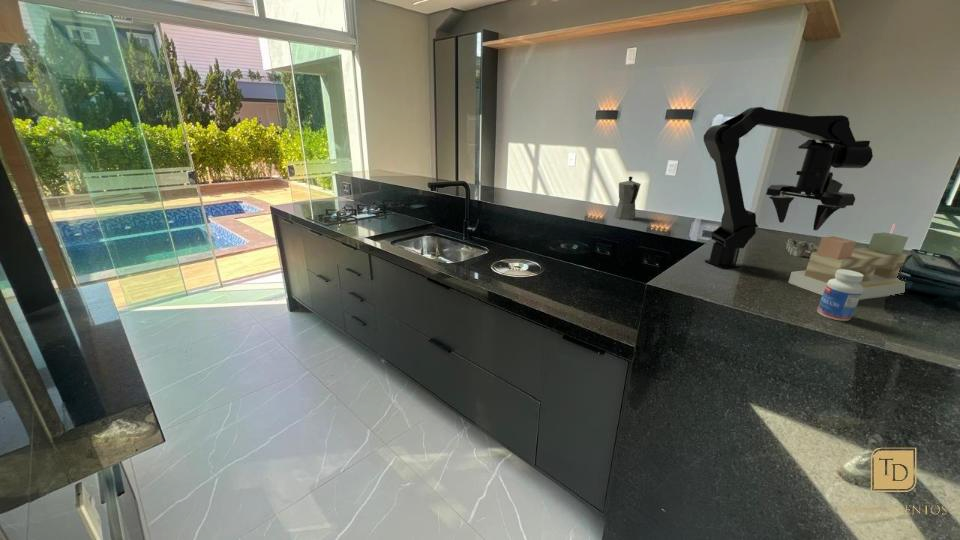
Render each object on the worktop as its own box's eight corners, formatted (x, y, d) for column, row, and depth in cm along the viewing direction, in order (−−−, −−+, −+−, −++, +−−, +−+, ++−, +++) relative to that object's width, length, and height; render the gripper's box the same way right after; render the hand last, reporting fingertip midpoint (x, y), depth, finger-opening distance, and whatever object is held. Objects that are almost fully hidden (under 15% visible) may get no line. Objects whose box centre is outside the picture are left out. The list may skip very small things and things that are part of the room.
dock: (840, 302, 85) (845, 289, 84) (788, 282, 96) (791, 271, 95) (908, 293, 90) (913, 281, 89) (851, 275, 101) (855, 264, 100)
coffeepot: (609, 214, 174) (615, 174, 167) (630, 214, 173) (636, 175, 167) (620, 221, 159) (626, 178, 153) (642, 222, 159) (649, 179, 153)
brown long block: (833, 285, 86) (842, 260, 84) (804, 275, 92) (812, 252, 90) (897, 277, 91) (907, 254, 89) (865, 268, 97) (874, 246, 95)
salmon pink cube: (837, 259, 85) (843, 242, 84) (816, 253, 89) (821, 237, 88) (850, 258, 86) (856, 241, 85) (828, 252, 90) (834, 236, 89)
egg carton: (818, 260, 114) (822, 247, 112) (787, 256, 118) (791, 243, 116) (813, 251, 122) (817, 239, 121) (784, 247, 126) (788, 236, 125)
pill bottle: (809, 310, 81) (824, 267, 78) (832, 309, 81) (848, 267, 78) (834, 322, 76) (851, 277, 72) (858, 321, 76) (876, 277, 73)
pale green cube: (889, 254, 89) (896, 238, 88) (867, 248, 93) (873, 233, 92) (901, 253, 90) (908, 237, 89) (878, 247, 94) (885, 232, 93)
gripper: (881, 170, 91) (858, 233, 96) (802, 164, 108) (786, 217, 113) (848, 171, 88) (826, 235, 94) (772, 164, 105) (757, 219, 110)
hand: (797, 226), depth 103 cm, fingers open, 9 cm apart
